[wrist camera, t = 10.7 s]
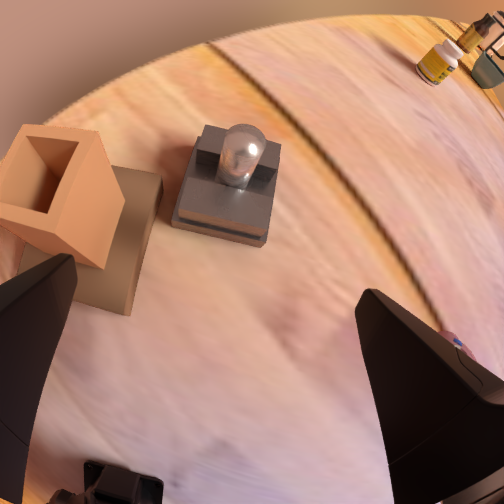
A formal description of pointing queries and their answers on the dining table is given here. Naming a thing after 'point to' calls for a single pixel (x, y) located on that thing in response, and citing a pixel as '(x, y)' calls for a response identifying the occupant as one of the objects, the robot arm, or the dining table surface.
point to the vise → (229, 185)
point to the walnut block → (116, 246)
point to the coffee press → (494, 36)
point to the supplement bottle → (439, 62)
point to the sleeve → (61, 192)
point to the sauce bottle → (475, 34)
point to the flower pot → (487, 72)
